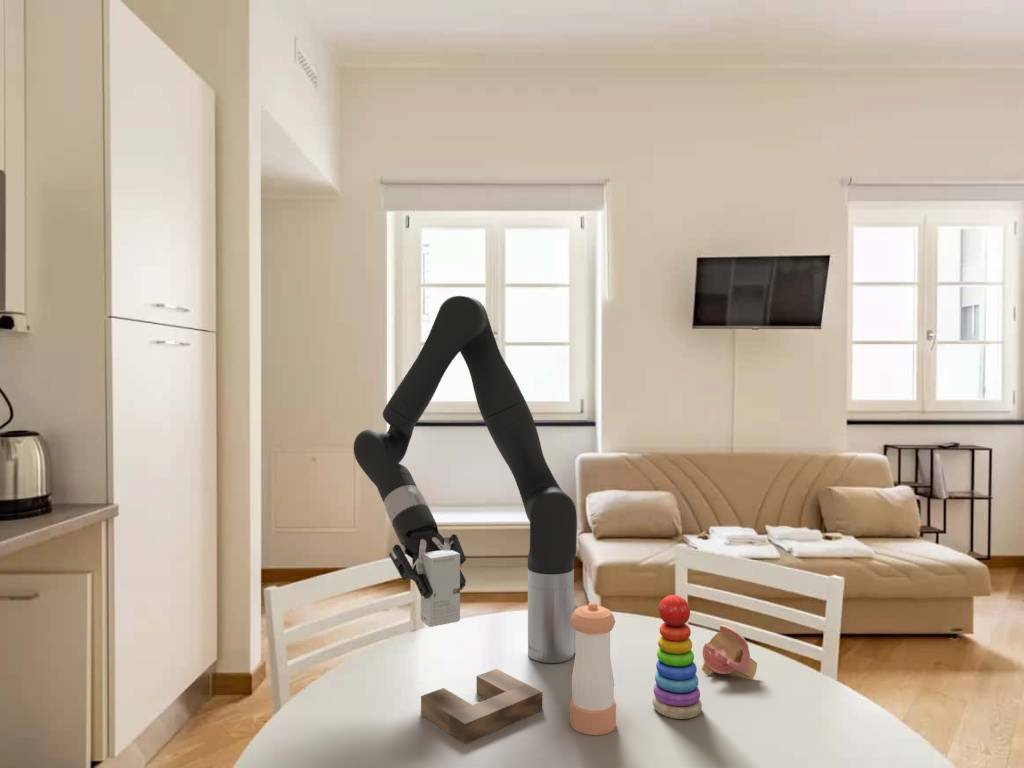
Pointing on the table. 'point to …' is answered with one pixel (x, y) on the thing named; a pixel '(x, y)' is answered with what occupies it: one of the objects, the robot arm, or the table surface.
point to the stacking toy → (676, 663)
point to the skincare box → (441, 588)
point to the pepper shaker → (592, 672)
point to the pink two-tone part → (728, 654)
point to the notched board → (482, 706)
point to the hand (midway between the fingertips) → (445, 591)
